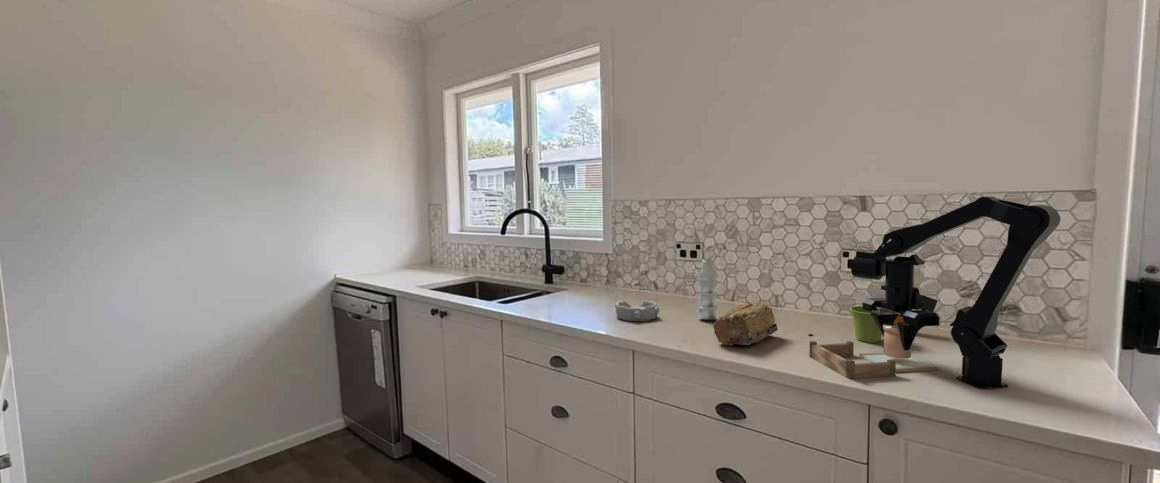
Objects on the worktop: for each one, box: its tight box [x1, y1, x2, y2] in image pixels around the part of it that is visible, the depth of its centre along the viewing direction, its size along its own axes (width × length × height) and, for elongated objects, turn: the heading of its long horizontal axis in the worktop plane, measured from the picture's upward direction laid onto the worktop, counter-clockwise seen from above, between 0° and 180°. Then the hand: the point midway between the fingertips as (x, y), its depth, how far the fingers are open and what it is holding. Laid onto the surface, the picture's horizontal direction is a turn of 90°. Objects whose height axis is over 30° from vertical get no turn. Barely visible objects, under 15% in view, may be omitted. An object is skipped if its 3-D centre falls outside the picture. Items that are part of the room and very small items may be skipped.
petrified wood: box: [713, 302, 778, 346], centre depth 147 cm, size 19×13×10 cm
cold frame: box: [809, 340, 897, 380], centre depth 123 cm, size 16×11×4 cm
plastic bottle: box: [696, 258, 719, 321], centre depth 170 cm, size 6×7×20 cm
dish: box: [614, 300, 660, 322], centre depth 177 cm, size 14×14×5 cm
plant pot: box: [849, 305, 883, 344], centre depth 143 cm, size 9×9×9 cm
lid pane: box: [858, 351, 939, 373], centre depth 124 cm, size 12×11×1 cm
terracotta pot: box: [883, 323, 912, 358], centre depth 124 cm, size 6×6×7 cm
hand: (897, 346), depth 124 cm, fingers closed on terracotta pot, 6 cm apart
